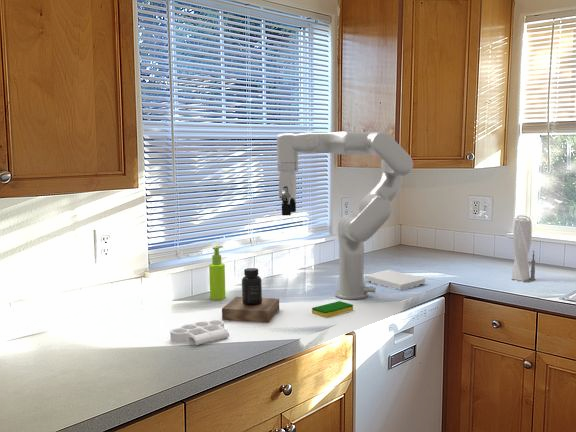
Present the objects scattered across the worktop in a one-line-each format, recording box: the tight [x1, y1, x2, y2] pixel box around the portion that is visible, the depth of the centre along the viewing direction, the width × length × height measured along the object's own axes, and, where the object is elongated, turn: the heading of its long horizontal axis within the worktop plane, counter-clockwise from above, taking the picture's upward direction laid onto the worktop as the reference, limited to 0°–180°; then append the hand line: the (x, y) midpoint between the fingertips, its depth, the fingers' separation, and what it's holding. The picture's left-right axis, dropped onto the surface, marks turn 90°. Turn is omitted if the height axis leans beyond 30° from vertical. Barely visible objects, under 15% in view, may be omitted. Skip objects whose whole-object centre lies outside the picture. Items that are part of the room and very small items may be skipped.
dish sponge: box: [311, 300, 354, 318], centre depth 211 cm, size 7×14×2 cm, turn 130°
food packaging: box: [364, 269, 426, 291], centre depth 252 cm, size 15×3×20 cm
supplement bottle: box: [241, 267, 263, 305], centre depth 207 cm, size 7×7×12 cm
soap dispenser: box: [208, 245, 226, 301], centre depth 230 cm, size 6×7×20 cm
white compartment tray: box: [169, 319, 230, 347], centre depth 185 cm, size 3×18×15 cm
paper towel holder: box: [511, 214, 537, 283], centre depth 254 cm, size 8×8×28 cm
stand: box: [221, 296, 280, 324], centre depth 208 cm, size 16×16×4 cm
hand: (289, 213), depth 223 cm, fingers open, 9 cm apart
